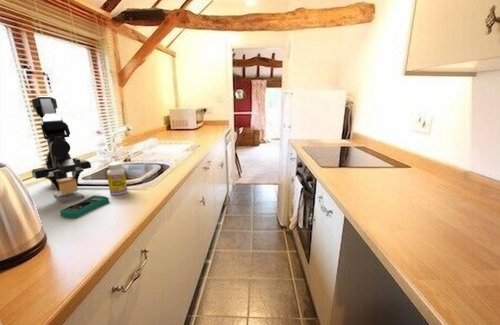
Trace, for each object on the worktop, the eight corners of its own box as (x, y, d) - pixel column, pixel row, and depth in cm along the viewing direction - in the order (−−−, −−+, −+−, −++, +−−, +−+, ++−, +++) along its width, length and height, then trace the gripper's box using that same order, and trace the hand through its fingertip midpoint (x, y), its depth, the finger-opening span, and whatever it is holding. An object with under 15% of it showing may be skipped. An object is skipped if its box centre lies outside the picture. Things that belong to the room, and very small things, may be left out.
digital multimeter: (59, 217, 87) (57, 210, 87) (95, 201, 101) (94, 194, 100) (75, 220, 85) (73, 212, 85) (110, 202, 99) (109, 195, 98)
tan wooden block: (57, 191, 104) (54, 180, 103) (73, 187, 109) (70, 176, 107) (62, 194, 101) (59, 182, 100) (78, 190, 105) (75, 178, 104)
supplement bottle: (112, 197, 104) (107, 166, 101) (108, 192, 109) (103, 163, 106) (129, 192, 108) (125, 163, 105) (125, 189, 113) (121, 160, 110)
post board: (54, 196, 106) (52, 187, 105) (73, 191, 112) (71, 182, 111) (64, 202, 99) (61, 193, 98) (84, 197, 104) (82, 188, 103)
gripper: (35, 158, 89) (45, 200, 93) (93, 149, 103) (99, 186, 107) (27, 155, 95) (36, 194, 99) (82, 147, 110) (89, 181, 113)
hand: (67, 188), depth 104 cm, fingers closed on tan wooden block, 6 cm apart
